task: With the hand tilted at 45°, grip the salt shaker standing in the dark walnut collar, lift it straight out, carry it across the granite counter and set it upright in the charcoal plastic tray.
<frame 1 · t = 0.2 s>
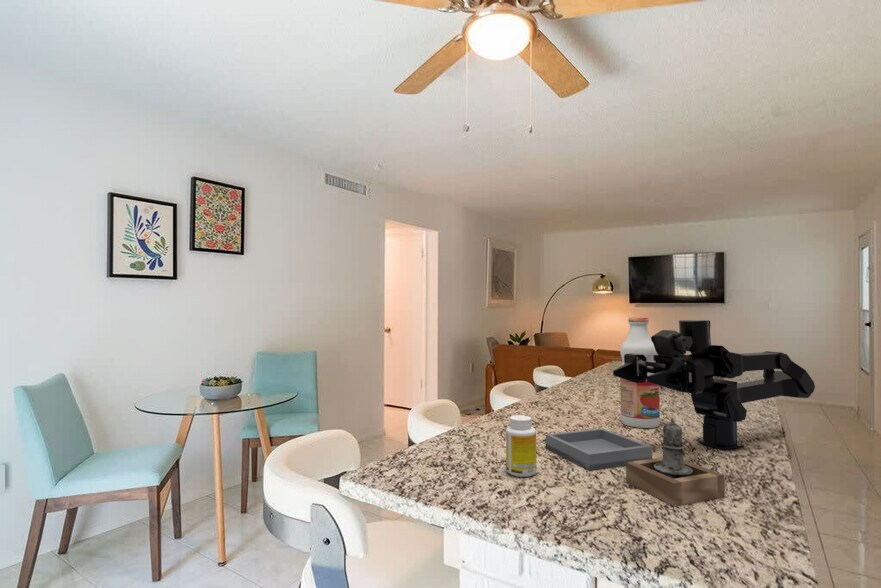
hand: (629, 376, 95), 17 cm above the countertop, tool horizontal, fingers open, 9 cm apart
charcoal tray: (596, 454, 98), on the countertop
supplement bottle: (521, 473, 87), on the countertop
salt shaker: (673, 490, 79), resting in walnut collar
walnut collar: (673, 489, 79), on the countertop
fruit juice: (640, 425, 123), on the countertop
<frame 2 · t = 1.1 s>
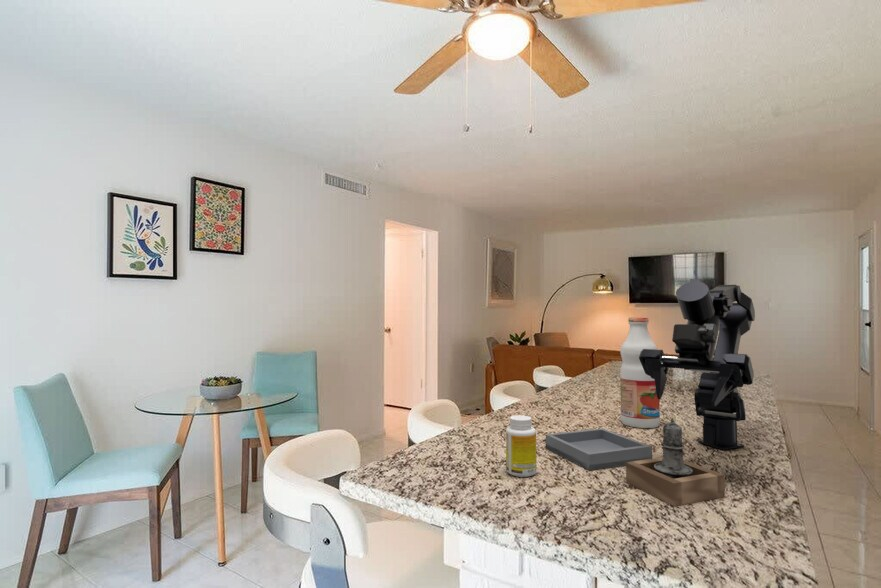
hand: (684, 401, 85), 14 cm above the countertop, tool tilted 45°, fingers open, 9 cm apart
nothing on the countertop moved.
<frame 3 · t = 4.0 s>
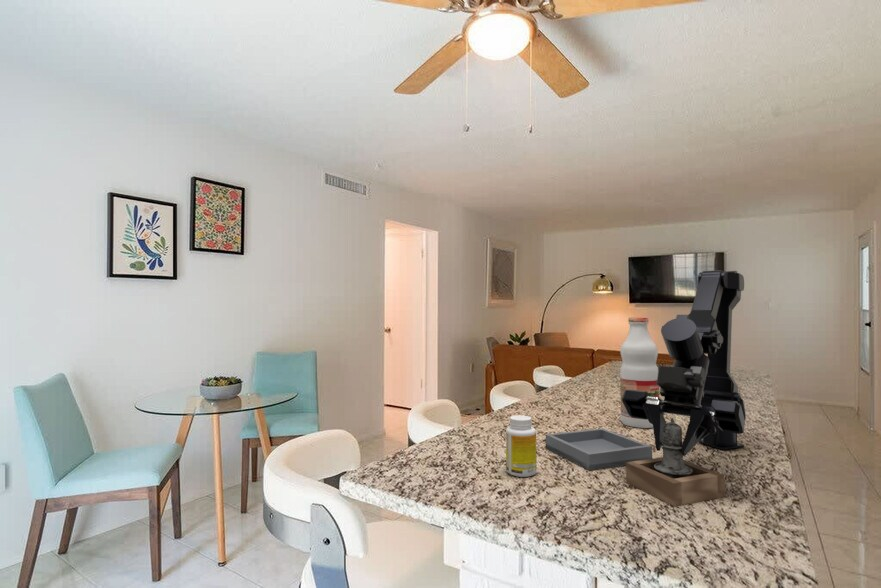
hand: (670, 451, 78), 7 cm above the countertop, tool tilted 45°, fingers closed on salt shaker, 4 cm apart
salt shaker: (673, 490, 79), resting in walnut collar, touching gripper
everything else where it was.
when the fingers open (9 cm above the countertop, at t = 8.1 s): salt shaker stays where it is, resting on charcoal tray.
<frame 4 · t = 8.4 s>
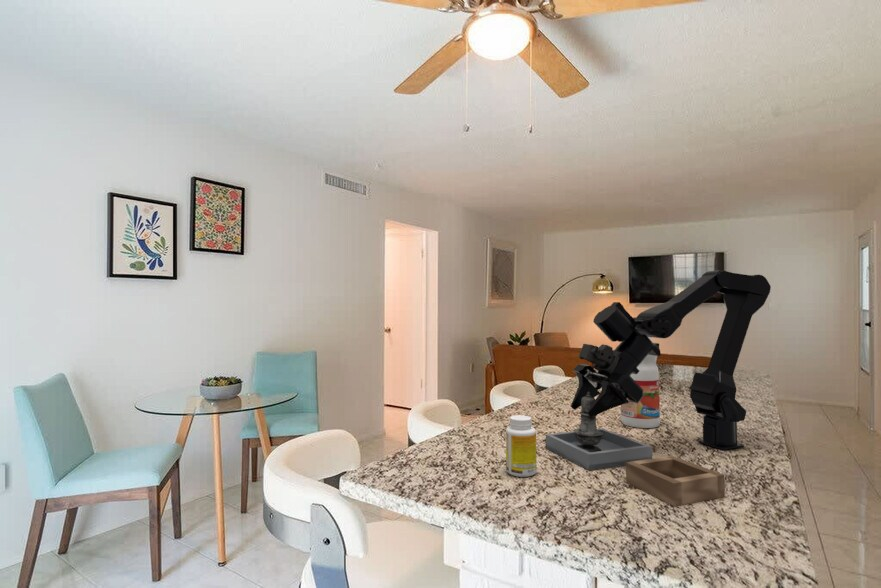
hand: (580, 411, 98), 9 cm above the countertop, tool tilted 45°, fingers open, 7 cm apart
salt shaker: (587, 450, 98), point 1 cm above the countertop, touching charcoal tray
everything else where it was.
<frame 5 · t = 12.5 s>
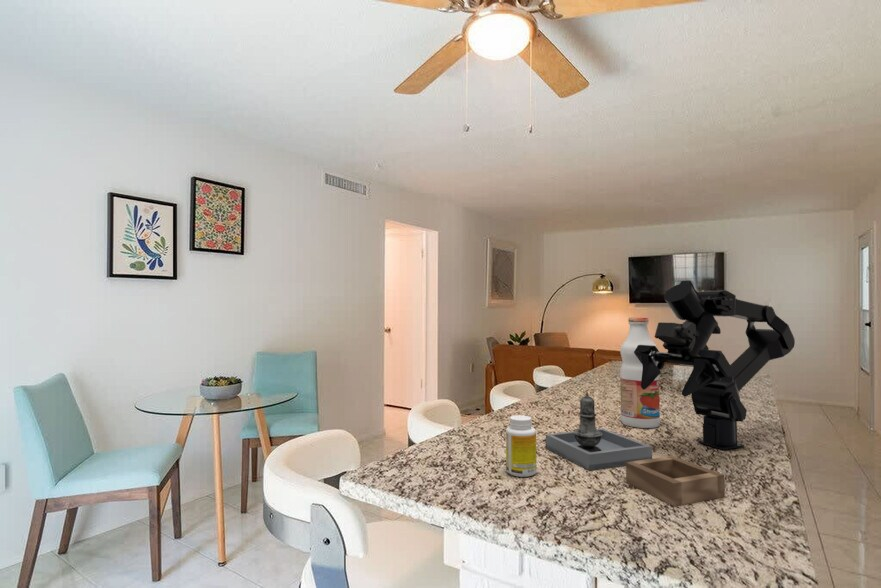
hand: (662, 391, 95), 14 cm above the countertop, tool tilted 45°, fingers open, 9 cm apart
nothing on the countertop moved.
at the end: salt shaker inside the target area on the charcoal tray (1.1 cm from its centre), point 0.8 cm above the charcoal tray's base; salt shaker tilted 0°; the gripper is holding nothing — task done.
